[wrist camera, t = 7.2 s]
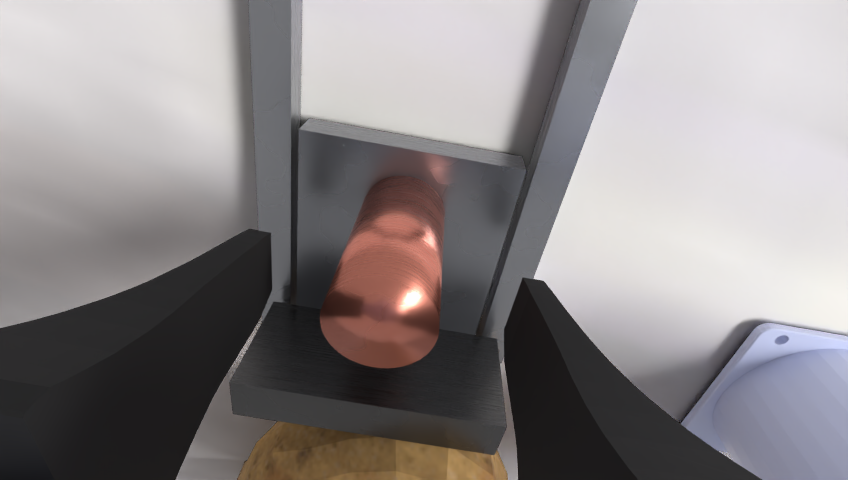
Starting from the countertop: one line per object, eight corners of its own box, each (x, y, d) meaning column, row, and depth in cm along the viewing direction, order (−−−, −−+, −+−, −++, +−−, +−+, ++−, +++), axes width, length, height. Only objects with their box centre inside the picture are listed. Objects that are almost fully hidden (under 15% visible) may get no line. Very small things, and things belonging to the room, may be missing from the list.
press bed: (820, -299, 9) (1247, -610, 4) (468, 513, 28) (471, 636, 23) (161, -447, 9) (-231, -992, 4) (246, 479, 27) (198, 597, 22)
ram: (548, 161, 15) (604, 281, 9) (485, 344, 20) (497, 499, 14) (282, 112, 15) (171, 207, 9) (283, 311, 19) (211, 456, 14)
